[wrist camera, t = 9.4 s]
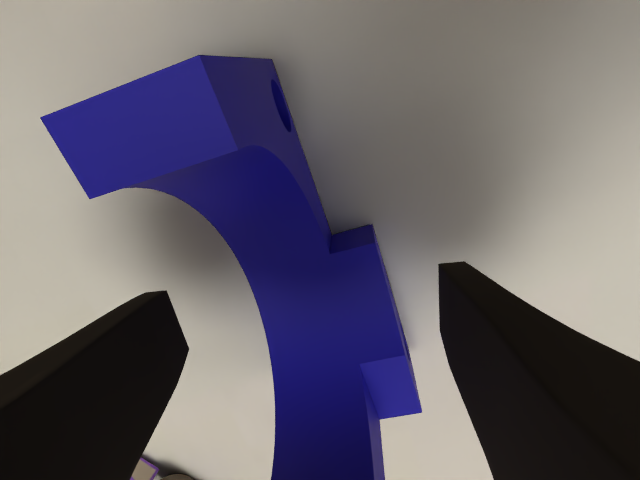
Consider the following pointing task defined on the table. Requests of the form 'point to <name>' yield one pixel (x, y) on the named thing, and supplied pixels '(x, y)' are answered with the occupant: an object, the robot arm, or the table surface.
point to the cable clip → (263, 247)
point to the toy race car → (153, 472)
